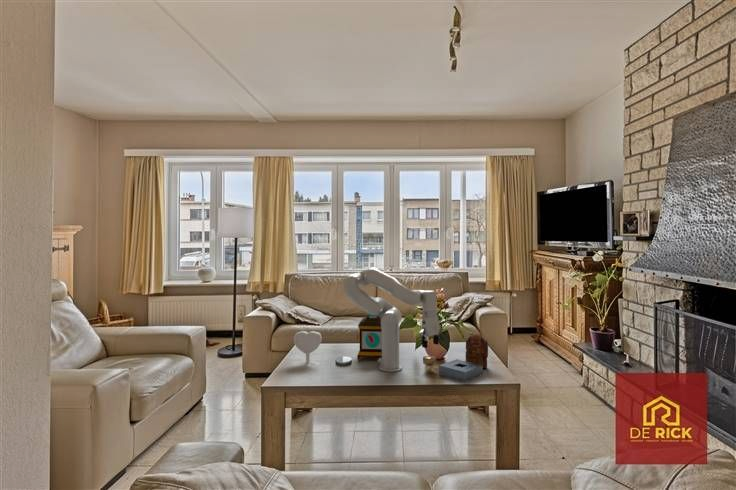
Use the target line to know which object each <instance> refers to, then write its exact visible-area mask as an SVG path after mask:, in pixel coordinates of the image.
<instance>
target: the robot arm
mask: <svg viewBox="0 0 736 490" xmlns="http://www.w3.org/2000/svg"><path fill="white" fill-rule="evenodd" d="M369 285H373V286H375V287H377V288H379V289H381V290H383V291H384V292H387V293H389V294H390V295H391V296H393V297H394V298H396V299H397V300H399V301H401V302H403V303H405V304H407V305H409V306H412V307H413V306H415V307H416V306H417V305H419V304H421V303H422V304H421V305H422V318H421V329H420V331H419V332H418V334H419V335H418V336H419V338H420V340H421V347H422V348H424V349H428V337H432V339H433V341H432V342H433V345H440V343H439V339H440V338H439V337H440V333H441V329H442V328H441V327H440V323H439V317H438V311H437V310H438V308H437V307H438V306H437V292H436V290H433V289H431V290H430V289H427V290H422V289H410V288H407V287H406V286H404V285H403V284H401V283H400V282H399V281H398V280H397V279H396V278H395V277H393V276H391V275H389V274H388V273H385V272H384V271H383V270H382V269H381V268H379V267H378V266H377V267H376V266H375V267H370V268H368V269H366V270H362V271H359V272H356V273H351V274H349V275H347V276H346V277H345V279H344V280H343V285H342V286H343V287H342V288H343V291H344V294H345V296H346V297H347V299H349V301H351V302H352V303H354V304H356V306H358V307H359V308H360V309H362V310H363V311H365V312H366V313H367V314H368V313H369V314H370V315H371V316H378V315H379V316H380V317H381V331H382V357H378V359H377V363H380V364H379V366H378V369H379V370H381V372H385V373H386V372H387V373H389V372H390V373H393V372H394V373H395V372H400V371H402V369H403V366H402V365H401V364H400V329H399V326H400V325H399V324H400V322H401V321H402V318H403V317H402V313H401V311H400V310H399V309H398V308H397V307H396V306H394V305H393V304H391V303H390V302H388V301H387V300H385V299H384V298H383V297H380V296H379V297H378V296H377V297H373V296H372V295H370V294H369V293H367V292H366V291H364V290H363V289H361V288H362V287H365V286H369Z"/></svg>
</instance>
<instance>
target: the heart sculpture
mask: <svg viewBox="0 0 736 490" xmlns="http://www.w3.org/2000/svg"><path fill="white" fill-rule="evenodd" d="M322 339H323V338H322V333H320V332H318V331H314V330H311V331H309V332H307V331H305V330H302V331H297V332H296V333H295V334H294V335H293V344H294V346H295V347H296V348H297V349H298V350H299V351H300V352H302V353H303V354H305V361H298V362H296V363H295V364H296V365H303V366H304V365H307V366H308V365H310V366H316V365H317V366H318V365H320V362H319V361H310V356H311V355H310V354H312V353H313V352H315V351H316V350H317V349H318V348H319V347H320V345H321V343H322Z"/></svg>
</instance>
